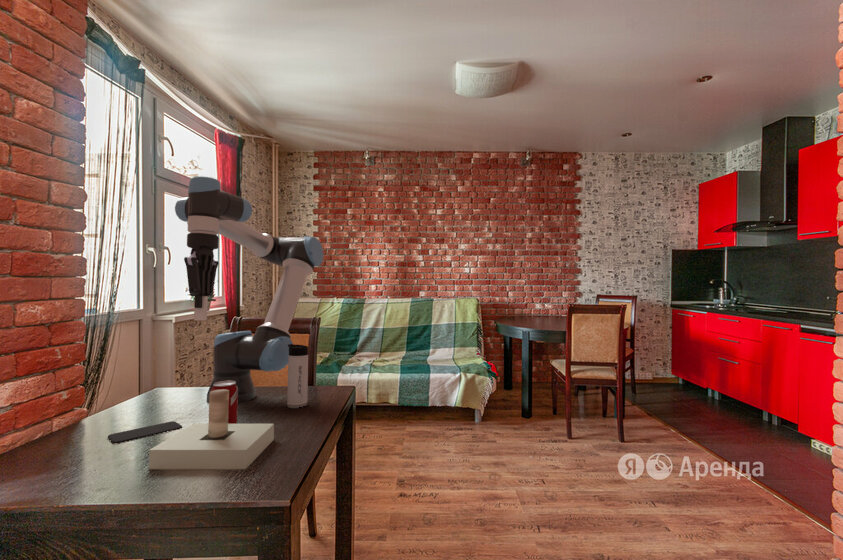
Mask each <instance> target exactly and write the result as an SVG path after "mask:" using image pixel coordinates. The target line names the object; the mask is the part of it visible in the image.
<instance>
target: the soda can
mask: <svg viewBox="0 0 843 560" xmlns="http://www.w3.org/2000/svg"><path fill="white" fill-rule="evenodd" d="M235 384H236V382H235V381H221V382H216V383H214V384H213V388H212V389H211V391H214V390H222V389H225V390H229V408H228V424H238V406H239V405H238V404H239V403H238V387H237V386H236V385H235ZM211 391H210V392H211Z"/></svg>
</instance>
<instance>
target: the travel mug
mask: <svg viewBox="0 0 843 560" xmlns="http://www.w3.org/2000/svg"><path fill="white" fill-rule="evenodd" d="M288 347H289V355H288V356H289V357H288V364H287V395H286V396H287V401H286V402H287V404H286V405H287V406H286V407H288V409H289V408H290V409H300V408H299V407H302V408H304V407H303V406H305V407H306V406H307V405H308V391H309V390H308V381H309V380H308V379H309V346H308V345H303V344H294V343H293V344H289V345H288Z"/></svg>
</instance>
